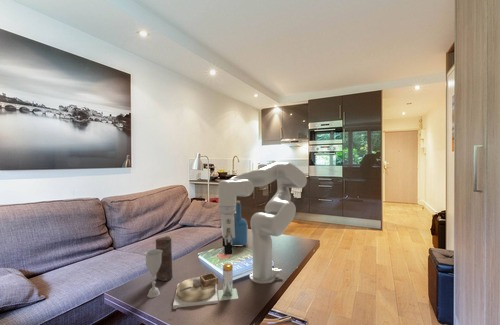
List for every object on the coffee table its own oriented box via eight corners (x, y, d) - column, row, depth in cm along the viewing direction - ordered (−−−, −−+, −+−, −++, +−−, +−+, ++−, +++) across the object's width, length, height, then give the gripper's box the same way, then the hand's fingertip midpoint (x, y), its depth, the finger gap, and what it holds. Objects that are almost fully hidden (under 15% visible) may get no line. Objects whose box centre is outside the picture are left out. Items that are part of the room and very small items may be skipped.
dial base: (215, 283, 110) (215, 279, 110) (217, 304, 94) (217, 300, 94) (178, 286, 107) (178, 283, 107) (173, 309, 91) (173, 305, 91)
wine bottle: (251, 243, 166) (251, 200, 167) (240, 248, 155) (240, 203, 155) (235, 240, 174) (235, 199, 174) (224, 245, 162) (224, 201, 163)
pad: (236, 289, 105) (236, 288, 105) (238, 299, 97) (238, 298, 97) (217, 291, 103) (217, 290, 103) (218, 301, 95) (218, 300, 95)
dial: (182, 306, 90) (182, 292, 90) (172, 287, 103) (172, 275, 103) (222, 293, 98) (222, 281, 98) (208, 277, 112) (208, 267, 112)
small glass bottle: (232, 291, 102) (231, 263, 102) (233, 296, 98) (233, 267, 99) (222, 292, 102) (222, 264, 102) (223, 297, 98) (223, 268, 98)
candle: (154, 283, 111) (154, 240, 111) (156, 276, 118) (156, 235, 118) (172, 281, 113) (172, 238, 113) (172, 274, 120) (172, 234, 120)
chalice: (165, 289, 105) (164, 249, 105) (159, 298, 98) (159, 255, 98) (148, 290, 104) (148, 249, 105) (141, 299, 98) (141, 255, 98)
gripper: (239, 213, 92) (238, 257, 92) (233, 205, 109) (233, 243, 109) (219, 213, 91) (219, 258, 91) (217, 206, 108) (217, 244, 108)
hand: (227, 250), depth 100 cm, fingers open, 9 cm apart
